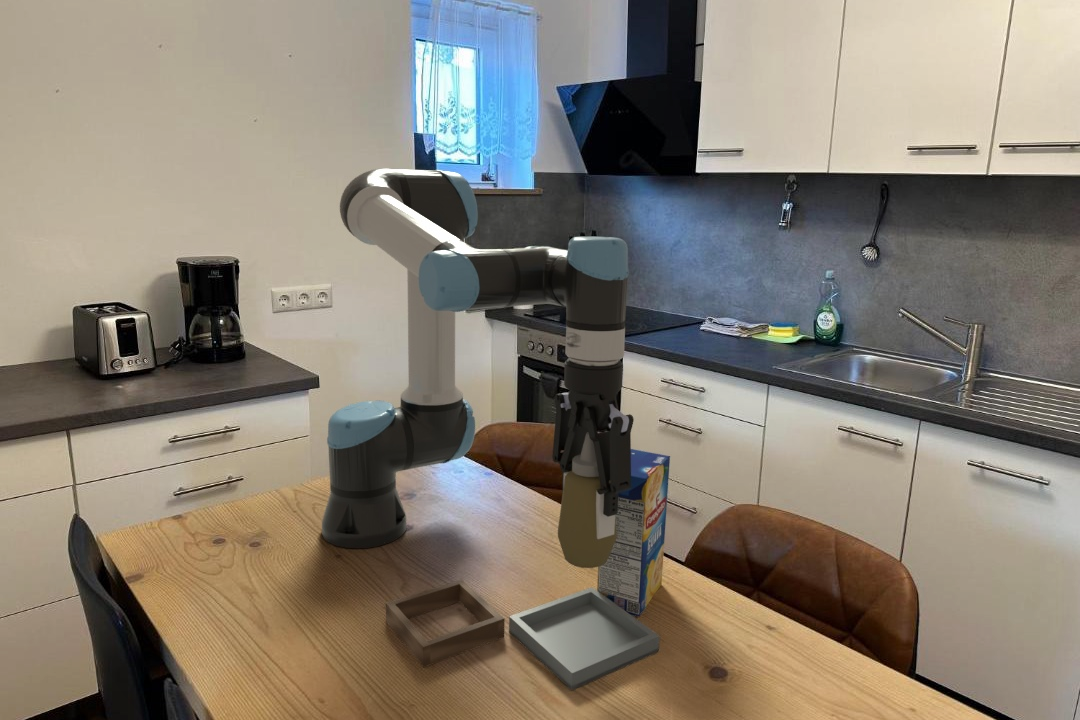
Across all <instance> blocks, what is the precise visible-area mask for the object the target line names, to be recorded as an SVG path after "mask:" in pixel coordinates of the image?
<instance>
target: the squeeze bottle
mask: <svg viewBox="0 0 1080 720" xmlns="http://www.w3.org/2000/svg"><path fill="white" fill-rule="evenodd" d="M609 482H610V481H609ZM598 489H601V485H600V479H599V473H598V467H597V461H596V455H595V449H594V443H593V441H592V440H591V439H590V437H589V432H587V433H586V437H585V440H584V444H583V448H582V452H581V455H577V456H575V457H574V458H573V459H572V471H570V472H569V473H568V474H567V475H566V476H565V481H564V488H563V490H562V496H561V505H560V512H559V519H558V527H557V538H558V540H559V545H560V547H561V551H562V554H563V558H564V559H565V561H566V562H567V563H568V564H570V565H572V566H573V567H577V568H581V569H594V568H598V567H600V566H602V565H604V564H605V563H606V562H607V560H608V558H609V555H610V553H611V551H612V548H613V546H614V543H615V541H616V538H617V532H616V515H615V529H614V535H611V536H607V537H604V538H601V539H597V527H596V491H597V490H598Z"/></svg>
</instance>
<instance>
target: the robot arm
mask: <svg viewBox="0 0 1080 720" xmlns="http://www.w3.org/2000/svg"><path fill="white" fill-rule="evenodd" d="M339 213H340V217H341V218H340V219H341V220H342V223H343V225H344V227H345V228H346V229H347V231H348V232H349V233H350V234H351V235H352V236H353V237H355V238H356V239H357V240H359V241H360V242H362V243H363V244H367V245H369V246H370V245H371V246H377V247H378V248H379V249H381V250H382V251H383V252H385V253H386V254H387V255H389V256H390V257H391V258H393V259H394V260H395V261H397V262H398V263H399V264H400V265H401V266H403V267H404V268H406V269H407V337H408V338H407V346H408V347H407V349H408V351H407V353H408V355H407V356H408V358H407V359H408V368H407V369H408V385H407V387H406V388H405V389H404V390H403V391H402V392H401V393H400V406H398V407H394V405H393V404H392V403H390V402H389V401H385V400H373V401H372V400H366V401H360V402H356V403H352V404H350V405H345V406H344V407H342V408H340V409H338V410H337V411H335V412H334V413H333V414H332V415H331V416H330V418H329V420H328V424H327V425H328V428H327V429H328V430H327V439H326V444H327V446H328V462H329V463H328V465H329V466H328V467H329V486H330V487H329V488H330V493H329V497H328V500H327V504H326V507H325V510H324V514H323V516H322V521H321V532H322V533H321V535H322V537H323V539H324V540H325V541H326V542H327V543H329V544H331V545H333V546H336V547H339V548H346V549H368V548H375V547H378V546H383V545H386V544H389V543H392V542H394V541H395V540H397V539H399V538H400V537H402V536H403V534H405V532H406V530H407V515H406V511H405V509H404V506H403V503H402V500H401V498H400V495H399V492H398V490H397V473H398V472H403V471H407V470H411V469H417V468H423V467H427V466H434V465H438V464H447V463H449V462H451V461H454V460H455V461H456V460H458V459H461V458H463V457H464V456H465V455H466V454H467V453H468V452H469V451H470V449H471V448H472V446H473V442H474V440H475V436H476V435H475V434H476V419H475V416H473V414H474V410H473V407H472V405H471V404H470V403H469V402H468V400H466V399H465V398H464V394H463V392H462V391H461V390H460V389H459V388H458V387H457V386H456V313H459V312H464V311H470V310H471V311H473V310H480V309H482V310H483V309H490V308H491V309H492V308H502V307H503V308H505V307H520V306H532V305H535V306H536V305H545V304H547V305H554V306H560V307H563V308H566V309H565V311H566V316H565V325H566V329H565V330H566V331H565V332H566V333H565V351H564V353H565V356H566V357H568V358H567V359H566V360H565V361H564V369H563V371H564V374H563V376H564V378H563V385H564V387H565V388H566V389H567V390H569V391H568V392H567V391H566V392H562V393H557V394H555V395H554V404H555V421H554V423H555V424H554V435H553V444H552V445H553V446H552V455H551V457H552V461H553V462H554V463H558V464H559V468H560V471H562V476H561V478H562V479H561V480H562V482H561V488H562V489H561V491H563V488H564V481H565V476H566V475H567V474H568V473H569V472H570V471H572V459H573V458H574V457H575V456H577V455H581V452H582V448H583V444H584V440H585V437H586V433H587V432H589V437H590V439H591V440H592V441H593V443H594V449H595V455H596V461H597V467H598V473H599V479H600V485H601V489H598V490H597V491H596V527H597V539H601V538H604V537H607V536H611V535H614V529H615V515H616V514H617V511H618V493H619V492H622V491H625V490H629V489H630V488H631V449H632V444H631V443H632V441H631V440H632V439H631V435H632V434H631V432H632V428H633V425H634V419H635V418H634V417H633V415H632V414H623V412H621V411H620V410H619V406H618V402H617V395H618V393H619V392H620V391H621V390H622V388H623V377H624V363H623V362H622V361H621V360H622V359H623V358H624V357H625V341H626V340H625V339H626V337H625V335H626V313H627V312H626V311H627V297H628V296H627V293H628V278H629V274H630V269H629V254H628V253H629V250H628V247H629V246H628V244H627V243H626V241H625V240H624V239H622V238H619V237H615V236H614V237H613V236H612V237H611V236H591V235H589V236H573V237H572V238H571V239H570V240H569V241H568V248H567V249H564V248H557V247H552V246H550V245H534V246H533V245H531V246H530V245H529V246H526V247H524V248H503V249H502V248H497V249H495V248H494V249H493V248H491V249H489V248H487V249H486V248H485V249H481V248H480V249H479V248H476V247H473V246H472V245H470V244H468V243H466V242H465V239H468V238H469V237H471V236H472V235H473V234H474V233H475V231H476V227H477V226H478V225H477V224H478V219H479V214H478V204H477V200H476V195H475V193H474V191H473V187H472V186H471V185H470V183H469V180H467V179H466V177H464V176H463V175H461V174H459V173H458V172H453V171H446V170H445V171H443V170H440V169H435V170H434V169H433V170H430V169H429V170H426V169H398V168H397V169H392V168H375V169H371V170H368V171H365V172H363V173H361V174H359V175H358V176H355V178H353V179H352V180H351V181H350V182H349V183H348V184H347V186H346V187H345V189H344V190H343V192H342V194H341V198H340V202H339ZM609 481H610V482H609Z"/></svg>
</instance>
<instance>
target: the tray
mask: <svg viewBox="0 0 1080 720" xmlns="http://www.w3.org/2000/svg"><path fill="white" fill-rule="evenodd" d="M508 619H509V620H508V633H509V634H511V636H513V638H515V639H516V640H517V641H518V642H519V643H520V644H521V645H523V647H524V648H525V649H527V650H528V652H529V653H531V655H533V656H534V657H535V658H536V659H537V660H538V661H539V662H541V664H543V666H545V667H546V668H547V669H548V670H549V671H550V672H551V673H552V674H553V675H554V676H556V678H557V679H559V680H560V682H562V683H563V684H564V685H565V686H566V687H567V688H568V689H569V690H570V691H573V690H576V689H578V688H581V687H583V686H585V685H587V684H589V683H591V682H595V681H596V680H599V679H601V678H603V677H606V676H608V675H610V674H612V673H615V672H617V671H619V670H621V669H623V668H625V667H627V666H630V665H633V664H634V663H637V662H640V661H641V660H644V659H646V658H648V657H651V656H654V654H657V653H659V652H660V638H661V636H660V635H659V634H658V633H657V632H655V631H654V630H652V629H651V628H649V627H648V626H647V625H646V624H644V623H643V622H641V621H640V620H639V619H638V618H636V617H635V616H633V615H630V614H629V613H627V612H626V611H625V610H623V609H622V608H620V607H619V606H618V605H616V604H615V603H614V602H612V601H611V600H609V599H608V598H607V597H605V596H604V595H602V594H601V593H600V592H598V591H597V588H596V589H595V588H594V587H593V586H592V587H589V588H586V589H583V590H580V591H578V592H575V593H571V594H568V595H566V596H563V597H560V598H558V599H554V600H552V601H549V602H546V603H544V604H541V605H538V606H535V607H532V608H529V609H527V610H523V611H521V612H517V613H514V614H512V615H509V616H508Z"/></svg>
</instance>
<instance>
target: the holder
mask: <svg viewBox="0 0 1080 720" xmlns="http://www.w3.org/2000/svg"><path fill="white" fill-rule="evenodd" d="M456 603H460V604H461V605H462V606H463V607H464V608H465V609H466V610H467V611H468V612H469V613H470V614H471V615H472V616H473V617H474V618H475V619H477V620H478V622H476V623H474V624H470V625H468V626H465V627H462V628H460V629H457V630H453V631H451V632H448V633H445V634H443V635H440V636H436V637H434V638H431V639H429V640H427V639H426V638H425V637H424V636H423V635H422V633H421V632H420V631H419V630H418V629H417V627H416V626H414V624H413V623H412V622H411V620H409V619H411V618H414V617H418V616H420V615H424V614H426V613H430V612H433V611H436V610H438V609H441V608H444V607H445V608H446V607H448V606H451V605H454V604H456ZM385 620H386V623H387V624H388V626H390V628H391V629H392V630H393V632H394V633H395V634H396V635H397V636H398V638H399V639H400V640H401V642H402V643H403V644H404V645H405V646H406V648H407V649H408V650H409V652H410V653H411V654H412V655H413V656H414V658H415V659H416V660H417V661H418V662H419V665H421V666H422V667H423V668H425V667H429V666H431V665H433V664H436V663H439V662H442V661H444V660H447V659H450V658H452V657H453V658H454V657H455V656H458V655H461V654H463V653H466V652H468V651H472V650H473V649H477V648H480V647H482V646H485V645H488V644H490V643H493V642H496V641H498V640H501V639H503V638H505V621H506V619H505V617H504V616H503V615H502V614H501V613H499V612H498V611H497V610H496V608H494V607H493V606H492V605H491V604H490V603H488V601H486V600H485V599H484V598H483V597H482V596H481V595H480V594H478V593H477V592H476V591H475V589H473V588H472V587H471V586H470V584H468V583H467V582H465V580H464V579H459V580H456V581H453V582H450V583H446V584H444V585H443V584H442V585H439V586H437V587H434V588H433V587H432V588H430V589H426V590H424V591H420V592H417V593H414V594H410V595H407V596H404V597H400V598H397V599H393V600H391V601H388V602H385ZM487 643H488V644H487ZM479 646H480V647H479Z"/></svg>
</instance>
